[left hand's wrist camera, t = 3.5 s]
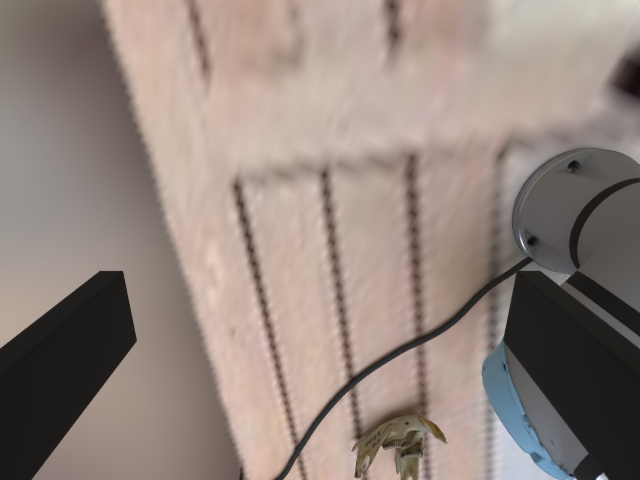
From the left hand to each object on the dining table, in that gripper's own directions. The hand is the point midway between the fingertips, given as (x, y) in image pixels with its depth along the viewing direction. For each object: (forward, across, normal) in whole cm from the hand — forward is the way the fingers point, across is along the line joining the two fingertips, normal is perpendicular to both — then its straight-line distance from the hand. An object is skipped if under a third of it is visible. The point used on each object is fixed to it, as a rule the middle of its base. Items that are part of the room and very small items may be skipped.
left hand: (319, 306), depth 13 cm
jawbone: (+34, -12, +41) cm, 55 cm away
